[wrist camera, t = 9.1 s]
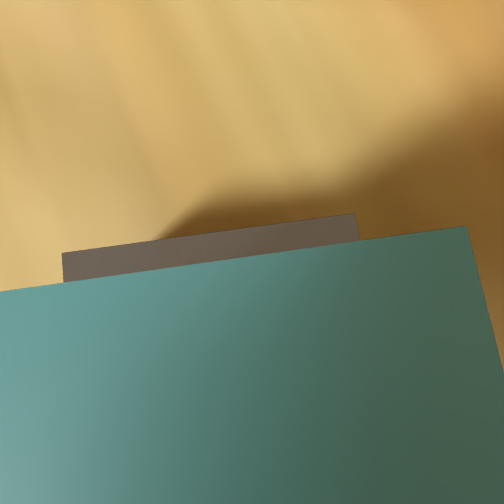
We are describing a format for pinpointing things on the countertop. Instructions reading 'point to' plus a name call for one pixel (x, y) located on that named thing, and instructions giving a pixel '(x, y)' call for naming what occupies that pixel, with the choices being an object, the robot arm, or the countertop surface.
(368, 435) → the square bit
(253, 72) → the countertop surface
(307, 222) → the block
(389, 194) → the countertop surface
